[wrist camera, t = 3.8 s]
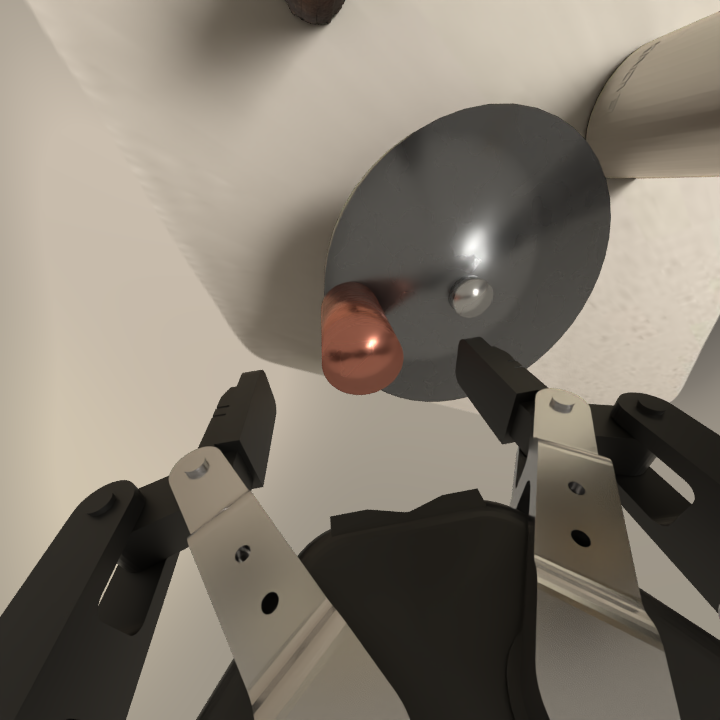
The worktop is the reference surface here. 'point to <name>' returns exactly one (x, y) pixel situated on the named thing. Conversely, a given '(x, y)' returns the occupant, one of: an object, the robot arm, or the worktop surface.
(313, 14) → the butter churn
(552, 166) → the grey disc with knob
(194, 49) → the worktop surface
